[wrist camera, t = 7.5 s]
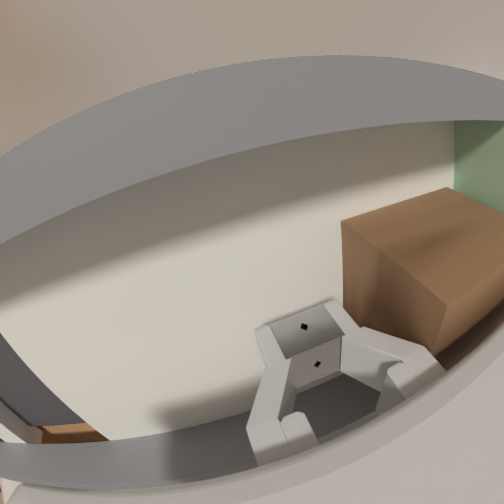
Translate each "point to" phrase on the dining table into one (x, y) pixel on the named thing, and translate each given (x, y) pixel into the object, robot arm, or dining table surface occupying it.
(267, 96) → the trap track
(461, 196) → the walnut block
